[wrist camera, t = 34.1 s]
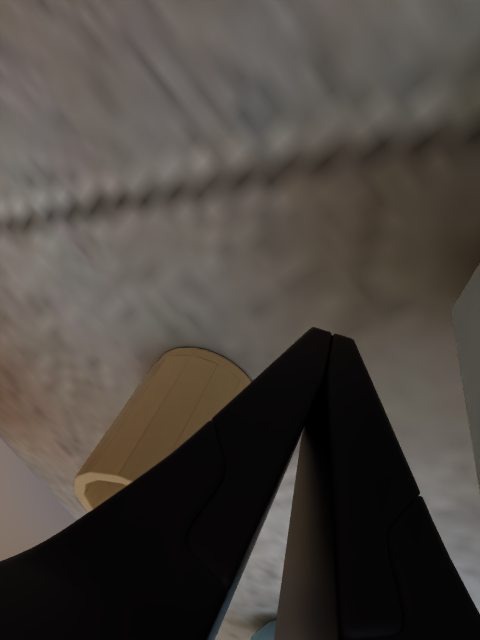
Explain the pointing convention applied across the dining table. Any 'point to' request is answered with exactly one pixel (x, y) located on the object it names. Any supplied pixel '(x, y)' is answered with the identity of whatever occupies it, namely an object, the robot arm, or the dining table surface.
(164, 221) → the dining table surface
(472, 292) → the drawer
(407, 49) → the dining table surface
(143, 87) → the dining table surface
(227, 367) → the stand
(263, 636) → the teapot
